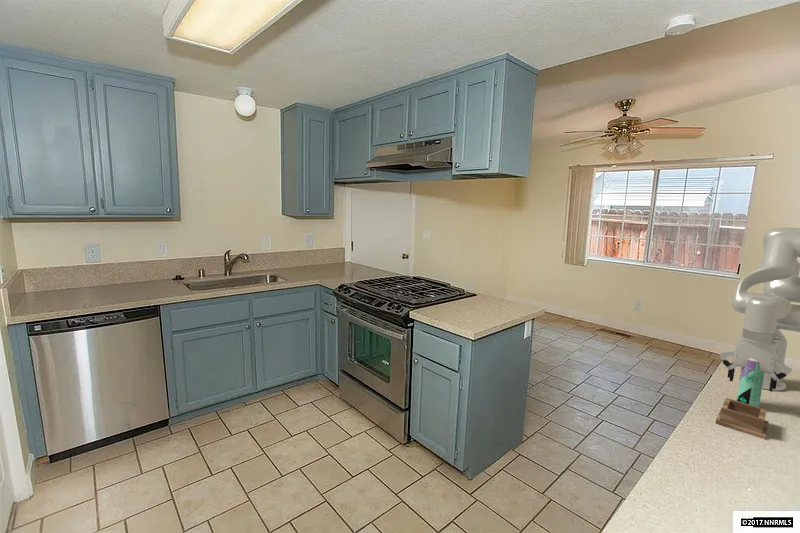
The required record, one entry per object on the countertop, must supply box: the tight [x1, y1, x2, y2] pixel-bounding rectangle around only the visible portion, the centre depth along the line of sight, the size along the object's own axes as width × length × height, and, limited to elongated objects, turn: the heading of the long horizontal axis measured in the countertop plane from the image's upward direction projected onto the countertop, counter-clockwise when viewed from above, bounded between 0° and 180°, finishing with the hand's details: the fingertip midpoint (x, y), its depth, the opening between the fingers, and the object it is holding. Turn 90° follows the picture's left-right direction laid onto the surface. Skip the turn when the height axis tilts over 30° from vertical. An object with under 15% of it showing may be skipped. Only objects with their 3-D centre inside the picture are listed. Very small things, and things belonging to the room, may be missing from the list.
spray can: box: [736, 357, 764, 407], centre depth 123 cm, size 6×6×20 cm
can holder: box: [715, 397, 769, 440], centre depth 114 cm, size 11×11×5 cm
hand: (750, 385), depth 124 cm, fingers open, 9 cm apart
